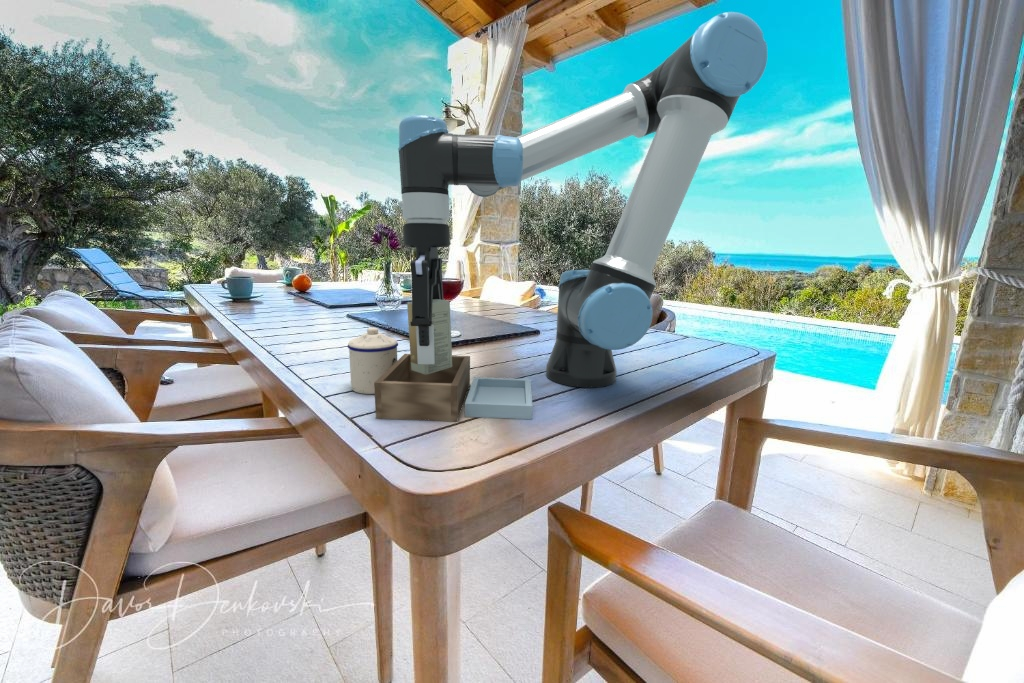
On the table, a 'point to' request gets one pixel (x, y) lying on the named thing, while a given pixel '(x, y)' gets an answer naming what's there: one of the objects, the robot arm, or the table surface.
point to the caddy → (422, 391)
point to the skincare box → (440, 338)
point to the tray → (499, 398)
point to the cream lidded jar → (370, 359)
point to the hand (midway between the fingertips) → (431, 357)
